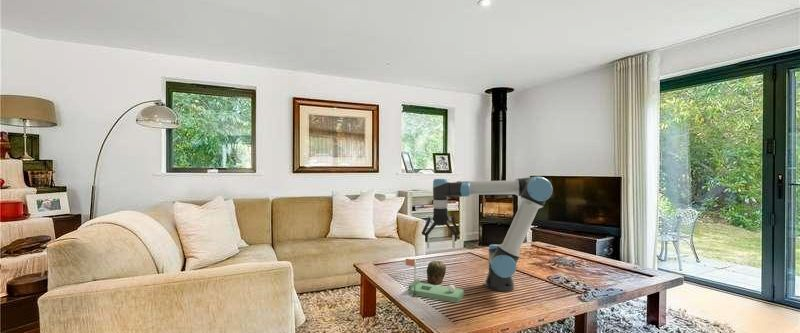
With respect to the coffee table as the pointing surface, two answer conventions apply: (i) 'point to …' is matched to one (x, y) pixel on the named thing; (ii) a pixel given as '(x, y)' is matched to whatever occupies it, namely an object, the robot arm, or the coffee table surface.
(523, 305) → the coffee table surface
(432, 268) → the ribbed round cactus
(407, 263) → the flag pin
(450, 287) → the ball
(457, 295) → the mat
